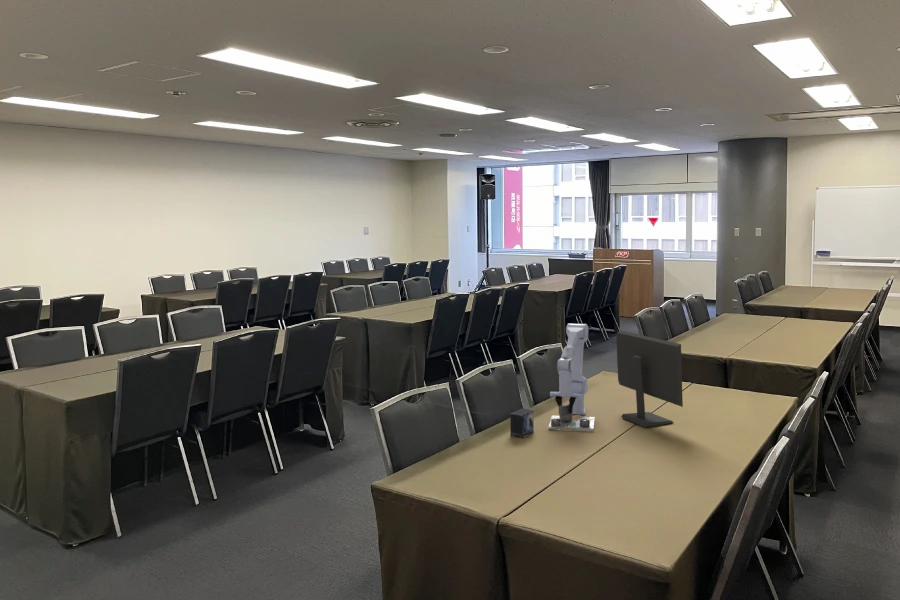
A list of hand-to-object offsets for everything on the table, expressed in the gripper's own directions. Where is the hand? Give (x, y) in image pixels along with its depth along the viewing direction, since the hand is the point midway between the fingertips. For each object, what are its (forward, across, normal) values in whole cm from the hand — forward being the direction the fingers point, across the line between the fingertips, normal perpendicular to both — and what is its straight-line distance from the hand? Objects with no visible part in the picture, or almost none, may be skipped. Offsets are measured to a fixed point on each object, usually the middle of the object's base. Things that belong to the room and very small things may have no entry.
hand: (565, 412), depth 315 cm
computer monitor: (+6, +35, +14) cm, 38 cm away
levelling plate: (+5, +3, -2) cm, 6 cm away
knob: (+4, +2, +2) cm, 4 cm away
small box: (+6, -15, -21) cm, 27 cm away
